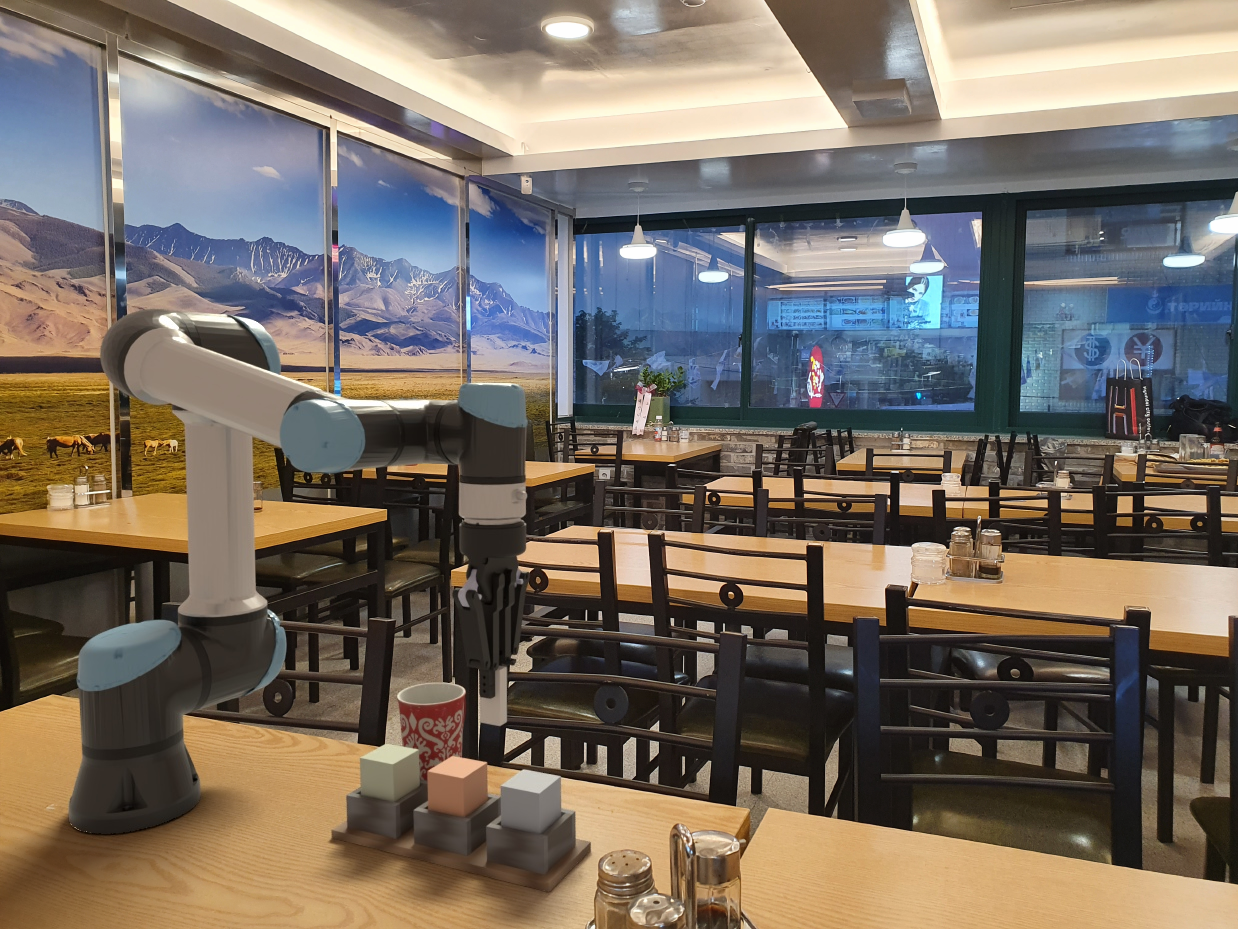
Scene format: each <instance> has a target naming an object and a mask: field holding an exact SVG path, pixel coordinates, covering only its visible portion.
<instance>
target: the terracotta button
mask: <svg viewBox="0 0 1238 929" xmlns="http://www.w3.org/2000/svg"><path fill="white" fill-rule="evenodd" d="M427 776H428V810H432V811H437V812H441V813H446V814H450V815H455V816H459V817H464V818H465V817H467V816H468V815H469V814H471V813H472V812H473V811H475V810H476V809H477V808H479V807H480V806H482V805H483V804H484V803H486V802H487V801H488V793H489V792H488V788H489V787H488V784H489V783H488V781H489V780H488V762H487V761H481V760H475V759H470V758H465V757H462V758H461V757H455V756H452V757H450V758H448V759H447V760H445V761H443V762H442V763H440V764H438V765H437V766H435V767H433V768H432V769H430V770H429V771H427Z"/></svg>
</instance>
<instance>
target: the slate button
mask: <svg viewBox="0 0 1238 929" xmlns="http://www.w3.org/2000/svg"><path fill="white" fill-rule="evenodd" d="M499 788H500V796H501V826H504V827H509V828H513V829H518V830H523V831H527V832H532V833H536V834H542V833H544V832H545V831H546V830H547V829H548V828H549V827H550V826H552V825H553V824H554V823H555V822H556V821H557V820H558V819H560V818H561V808H562V776H561V775H555V774H549V773H545V772H544V773H543V772H539V771H533V770H530V769H522V770H521V771H519V772H518V773H516V774H514V775H513V776H512V777H511V778H509V779H508V780H506V781H505V782H503V783H502V784H500V787H499Z"/></svg>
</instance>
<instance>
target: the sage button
mask: <svg viewBox="0 0 1238 929" xmlns="http://www.w3.org/2000/svg"><path fill="white" fill-rule="evenodd" d="M359 771H360V772H359V773H360V775H359V776H360V778H359V779H360V787H361V795H364V796H369V797H373V798H378V799H382V800H387V801H391V802H396V801H397V800H399V799H400V798H402V797H403V796H405V795H407V794H408V793H410V792H411V791H413V790H415V789H416V788H418V787H419V786H420V776H419V750H418V749H413V748H407V747H402V745H396V744H391V743H385V744H383V745H381V746H379V747H378V748H376V749H374V750H372V751H369V752H368V753H366V754H364V755H362V756H360V757H359Z"/></svg>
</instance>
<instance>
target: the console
mask: <svg viewBox="0 0 1238 929" xmlns="http://www.w3.org/2000/svg"><path fill="white" fill-rule="evenodd" d="M345 797H346V799H345V800H346V803H345V804H346V820H345V821H344V822H341V823H340V824H338V825H337V826H335V827H333V828H332V829H331V830H330V831H331V833H330V834H331V839H336V840H339V841H343V842H347V843H350V844H354V845H355V844H356V845H358V846H364V847H367V848H371V849H375V850H379V851H383V852H386V853H387V852H388V853H391V854H395V855H399V856H403V857H407V858H411V859H416V860H418V861H422V862H427V863H430V864H435V865H438V866H442V867H447V868H451V869H455V870H459V871H463V872H467V873H471V874H475V875H479V876H483V877H487V878H491V879H495V880H499V881H503V882H507V883H511V884H515V885H520V886H523V887H527V888H531V889H534V890H539V891H543V892H547V893H550V892H551V891H552V890H553V889H554V888H555V887H556V886H557V885H558V884H559V883H560V882H562V880H563V879H564V878H565V877H566V876H567V875H568V874H569V873H570V872H572V870H573V869H574V868H575V867H576V866H577V865H578V864H579V863H580V862H581V861H582V860H583V859H584V858H585V857H586V856H587V855H588V854H589V853H590V852H591V851H592V849H591V848H592V845H591V844H592V841H590V840H589V841H588V840H583V839H580V838H576V833H577V831H576V830H577V829H576V828H577V826H576V825H577V824H576V822H577V821H576V819H577V818H576V810H571V809H567V808H562V807H561V818H560V819H558V820H557V821H556V822H555V823H554V824H553V825H552V826H550V827H549V828H548V829H547V830H546V831H545V832H544V833H542V834H536V833H532V832H527V831H523V830H518V829H513V828H509V827H504V826H501V795H499V794H493V793H489V792H488V801H487V802H486V803H484V804H483V805H482V806H480V807H479V808H477V809H476V810H475V811H473V812H472V813H471V814H469V815H468V816H467V817H465V818H464V817H459V816H455V815H450V814H446V813H441V812H437V811H432V810H428V781H426V780H421V779H420V786H419V787H418V788H416V789H415V790H413V791H411V792H410V793H408V794H407V795H405V796H403V797H402V798H400V799H399V800H397V801H396V802H391V801H387V800H382V799H378V798H373V797H369V796H364V795H361V786H360V787H358V788H356V789H355V790H352V791H351V792H349V793H347V794H346V796H345Z"/></svg>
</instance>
